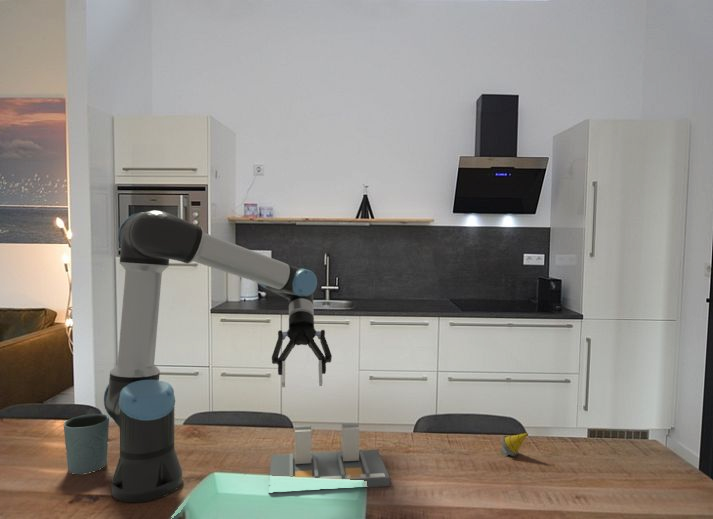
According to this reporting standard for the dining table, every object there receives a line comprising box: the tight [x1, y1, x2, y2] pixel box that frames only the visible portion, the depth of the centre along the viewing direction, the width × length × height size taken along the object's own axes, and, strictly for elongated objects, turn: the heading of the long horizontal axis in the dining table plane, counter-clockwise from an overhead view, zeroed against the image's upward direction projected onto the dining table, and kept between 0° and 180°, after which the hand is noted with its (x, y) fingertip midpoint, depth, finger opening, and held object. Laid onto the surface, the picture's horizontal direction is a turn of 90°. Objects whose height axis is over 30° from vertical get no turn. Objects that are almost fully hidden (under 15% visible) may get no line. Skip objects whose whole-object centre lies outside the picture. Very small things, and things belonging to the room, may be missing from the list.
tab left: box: [294, 424, 312, 464], centre depth 120 cm, size 4×4×9 cm
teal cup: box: [63, 413, 110, 474], centre depth 121 cm, size 10×10×12 cm
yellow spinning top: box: [500, 432, 529, 457], centre depth 130 cm, size 5×5×10 cm
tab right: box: [341, 422, 360, 461], centre depth 122 cm, size 4×4×9 cm
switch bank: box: [269, 448, 391, 488], centre depth 118 cm, size 28×16×3 cm, turn 98°
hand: (302, 384), depth 130 cm, fingers open, 9 cm apart
